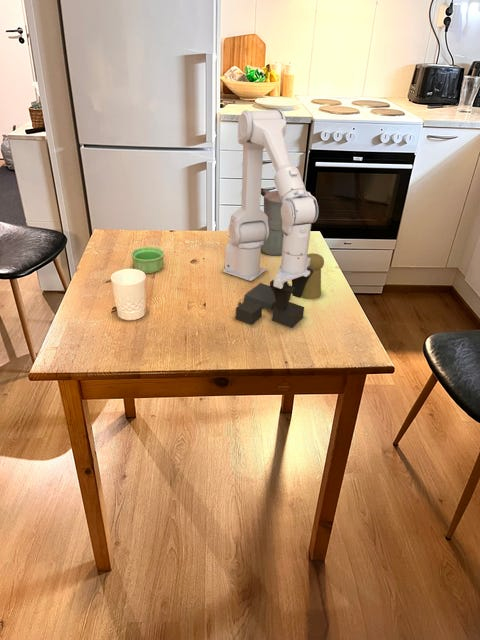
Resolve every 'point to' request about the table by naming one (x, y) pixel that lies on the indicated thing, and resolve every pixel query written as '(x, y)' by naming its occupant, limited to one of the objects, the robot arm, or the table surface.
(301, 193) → the robot arm
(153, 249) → the ramekin
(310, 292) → the olive game pawn
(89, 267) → the table surface
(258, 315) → the top pad
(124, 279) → the white cup
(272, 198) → the moka pot
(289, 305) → the middle pad
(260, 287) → the base pad
